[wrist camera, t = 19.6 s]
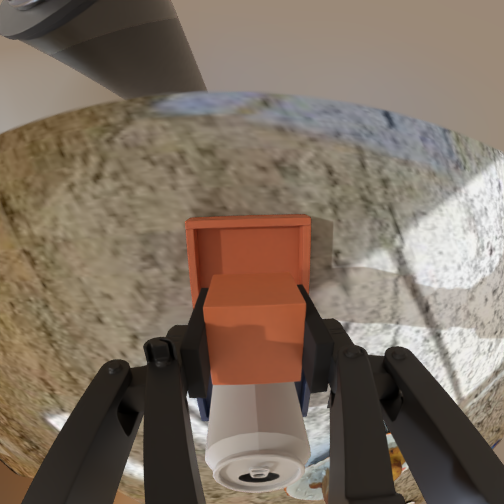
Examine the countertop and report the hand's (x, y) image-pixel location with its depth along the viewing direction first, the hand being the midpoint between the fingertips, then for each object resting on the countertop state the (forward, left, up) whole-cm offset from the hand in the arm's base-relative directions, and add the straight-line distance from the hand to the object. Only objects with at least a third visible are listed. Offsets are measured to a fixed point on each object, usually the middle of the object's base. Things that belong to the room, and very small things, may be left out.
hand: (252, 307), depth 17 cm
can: (+11, 0, -6) cm, 12 cm away
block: (0, 0, 0) cm, 0 cm away
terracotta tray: (0, 0, -6) cm, 6 cm away
